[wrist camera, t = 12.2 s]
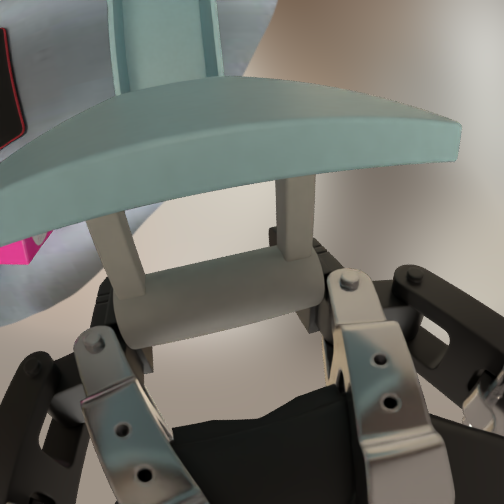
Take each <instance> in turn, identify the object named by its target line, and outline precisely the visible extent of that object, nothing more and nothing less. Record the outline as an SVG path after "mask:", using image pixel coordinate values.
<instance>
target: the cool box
mask: <svg viewBox="0 0 504 504" xmlns="http://www.w3.org/2000/svg"><path fill="white" fill-rule="evenodd" d="M107 10H108V29H109V42H110V54H111V64H112V73H113V81H114V89H115V96H118V95H121V94H125V93H129V92H133V91H138V90H142V89H146V88H151V87H156V86H161V85H166V84H171V83H177V82H183V81H189V80H196V79H203V78H211V77H219V76H224V69H223V60H222V51H221V42H220V33H219V24H218V14H217V5H216V0H107Z"/></svg>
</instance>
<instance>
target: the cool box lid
mask: <svg viewBox="0 0 504 504" xmlns="http://www.w3.org/2000/svg"><path fill="white" fill-rule="evenodd" d="M461 132H462V126H461V124H460V123H458V122H457V121H454V120H452V119H449V118H446V117H444V116H441V115H438V114H435V113H432V112H429V111H426V110H423V109H420V108H417V107H413V106H410V105H407V104H404V103H400V102H397V101H393V100H389V99H385V98H381V97H378V96H374V95H369V94H365V93H361V92H356V91H351V90H346V89H341V88H336V87H330V86H324V85H318V84H312V83H305V82H297V81H289V80H280V79H269V78H257V77H241V76H219V77H211V78H203V79H196V80H189V81H183V82H177V83H171V84H166V85H161V86H156V87H151V88H146V89H142V90H138V91H133V92H129V93H125V94H121V95H118V96H115V97H112V98H110V99H108V100H106V101H104V102H101V103H99V104H97V105H95V106H93V107H91V108H89V109H87V110H85V111H83V112H81V113H79V114H77V115H75V116H74V117H72V118H70V119H68V120H66V121H64V122H63V123H61V124H59V125H57V126H56V127H54V128H52V129H50V130H49V131H47V132H45V133H44V134H42V135H41V136H39V137H37V138H36V139H34V140H33V141H31V142H30V143H28V144H26V145H25V146H23V147H22V148H20V149H19V150H18V151H16V152H15V153H13V154H12V155H10V156H9V157H8V158H6V159H5V160H3V161H2V162H1V163H0V247H3V246H6V245H8V244H11V243H14V242H17V241H20V240H23V239H26V238H30V237H33V236H36V235H39V234H42V233H45V232H49V231H52V230H55V229H59V228H62V227H65V226H69V225H72V224H76V223H79V222H83V221H86V223H87V226H88V229H89V232H90V234H91V237H92V239H93V242H94V245H95V247H96V250H97V252H98V254H99V257H100V259H101V262H102V264H103V266H104V269H105V271H106V273H107V275H108V278H109V280H110V282H111V285H112V287H113V289H114V290H113V304H114V312H115V317H116V321H117V324H118V327H119V330H120V333H121V335H122V337H123V339H124V341H125V343H126V344H127V345H128V347H130V348H131V349H140V348H145V347H151V346H155V345H161V344H166V343H170V342H175V341H179V340H185V339H189V338H194V337H198V336H202V335H207V334H211V333H215V332H220V331H224V330H228V329H232V328H236V327H240V326H244V325H248V324H252V323H256V322H259V321H263V320H266V319H271V318H274V317H278V316H281V315H285V314H289V313H292V312H296V311H299V310H302V309H306V308H309V307H313V306H316V305H318V304H320V303H321V302H322V300H323V297H324V291H325V284H324V276H323V271H322V267H321V263H320V261H319V258H318V256H317V254H316V251H315V250H314V248H313V247H312V242H313V224H314V204H315V176H316V174H321V173H329V172H337V171H345V170H354V169H364V168H372V167H384V166H395V165H407V164H422V163H437V162H438V163H439V162H455V161H456V160H457V157H458V152H459V144H460V139H461ZM273 180H275V184H276V220H277V245H275V246H271V247H266V248H262V249H258V250H253V251H248V252H244V253H239V254H235V255H230V256H226V257H221V258H217V259H212V260H208V261H203V262H199V263H195V264H190V265H185V266H181V267H176V268H172V269H167V270H163V271H158V272H154V273H150V274H145V273H144V270H143V267H142V265H141V261H140V259H139V256H138V253H137V250H136V247H135V244H134V241H133V237H132V234H131V231H130V228H129V225H128V221H127V218H126V215H125V210H129V209H133V208H137V207H141V206H145V205H150V204H154V203H158V202H163V201H167V200H172V199H176V198H181V197H186V196H191V195H195V194H200V193H206V192H210V191H216V190H221V189H226V188H232V187H237V186H243V185H249V184H254V183H260V182H266V181H273Z"/></svg>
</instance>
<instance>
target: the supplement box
mask: <svg viewBox="0 0 504 504" xmlns="http://www.w3.org/2000/svg"><path fill="white" fill-rule="evenodd" d="M52 232H53V230H52V231H49V232H45V233H42V234H39V235H36V236H33V237H30V238H26V239H23V240H20V241H17V242H14V243H11V244H8V245H6V246H3V247H0V264H21V265H28V264H29V263H30V262H31V260H32V259H33V257H34V256H35V255H36V253H37V252H38V250H39V249H40V247H41V246H42V245H43V243H44V242H45V241H46V239H47V238H48V237H49V235H50V234H51V233H52Z"/></svg>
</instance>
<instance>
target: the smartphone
mask: <svg viewBox="0 0 504 504" xmlns="http://www.w3.org/2000/svg"><path fill="white" fill-rule="evenodd" d="M24 131H25V124H24V121H23V117H22V114H21V110H20V106H19V102H18V98H17V94H16V89H15V85H14V80H13V75H12V69H11V64H10V58H9V51H8V44H7V36H6V30H5V28H0V149H2V148H3V147H5V146H6V145H8V144H9V143H11V142H12V141H14V140H15V139H17V138H19V137H20V136H22V135H23V133H24Z"/></svg>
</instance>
